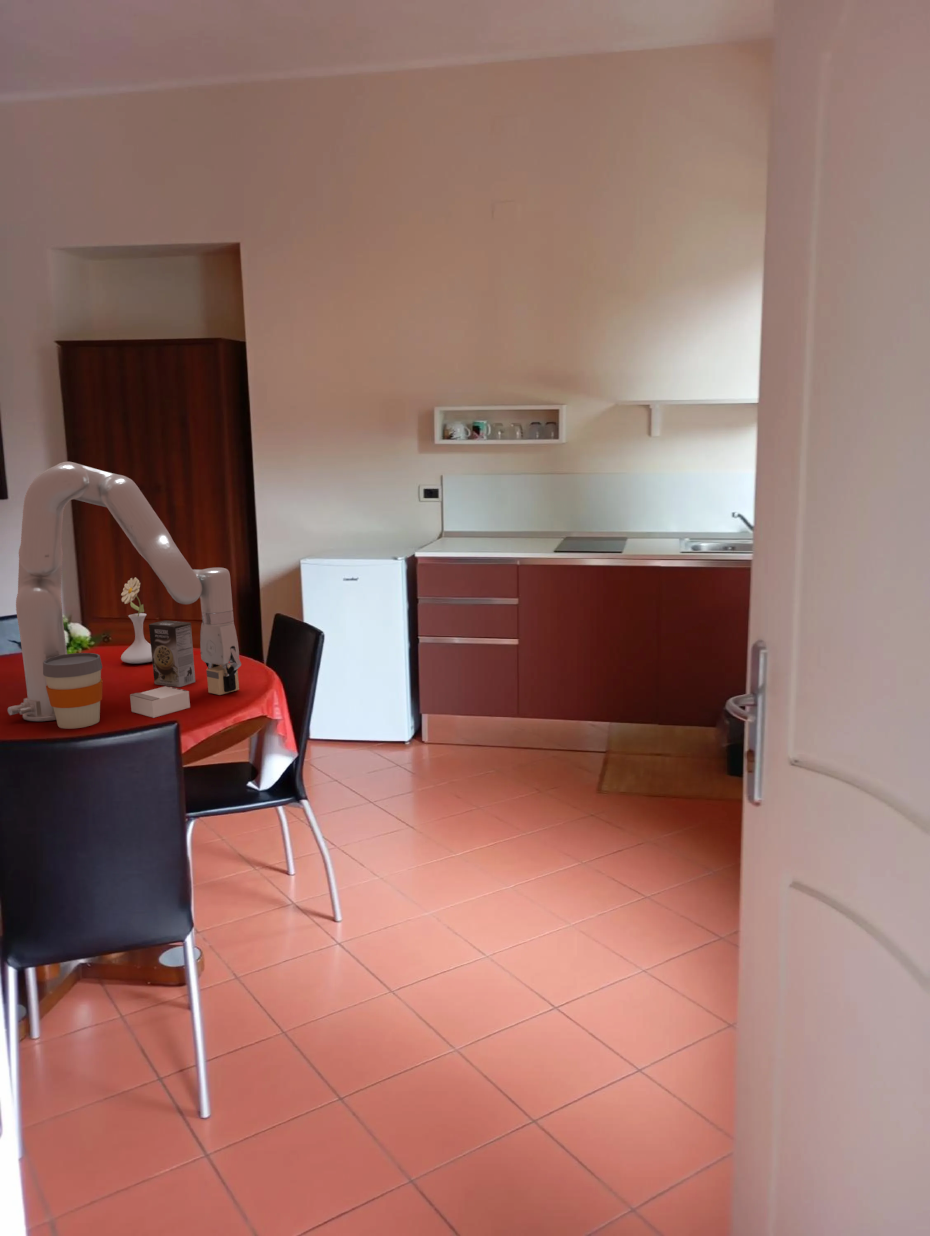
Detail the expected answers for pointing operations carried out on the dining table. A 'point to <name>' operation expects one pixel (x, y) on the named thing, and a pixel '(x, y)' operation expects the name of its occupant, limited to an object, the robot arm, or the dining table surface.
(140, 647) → the flower in vase
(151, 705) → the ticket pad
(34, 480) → the robot arm
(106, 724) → the dining table surface
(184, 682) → the coffee box
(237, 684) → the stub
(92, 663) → the reusable coffee cup
